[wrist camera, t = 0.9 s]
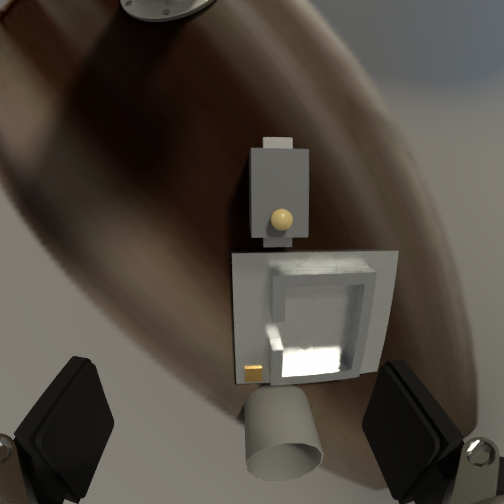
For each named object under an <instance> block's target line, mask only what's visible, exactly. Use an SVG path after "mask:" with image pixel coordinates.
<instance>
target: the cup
mask: <svg viewBox="0 0 504 504" xmlns="http://www.w3.org/2000/svg"><path fill="white" fill-rule="evenodd" d="M244 409H245V441H246V442H245V445H246V466H247V471H248V472H249V473H250V474H252V475H253V476H254V477H256V478H260V479H263V480H267V481H287V480H291V479H296V478H300V477H302V476H304V475H306V474H308V473H310V472H312V471H314V470H315V469H316V468H317V467H318V466H319V465H320V464H321V463H322V459H323V451H322V447H321V444H320V440H319V437H318V433H317V430H316V426H315V423H314V420H313V416H312V413H311V409H310V406H309V402H308V399H307V397H306V395H305V394H304V392H303V391H302V389H300V388H298V387H296V386H294V385H292V384H289V385H272V386H271V385H266V386H261V387H260V388H258V389H257V390H255V391H254V392H252V393H251V394H250V395H249V396H248V398H247V400H246V401H245V403H244Z"/></svg>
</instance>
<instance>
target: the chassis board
mask: <svg viewBox="0 0 504 504" xmlns="http://www.w3.org/2000/svg"><path fill="white" fill-rule="evenodd" d="M397 260H398V250H396V249H362V250H295V251H232V275H233V307H234V335H235V359H236V381H237V384H248V383H270V385H271V386H272V385H289V384H302V383H313V382H323V381H331V380H340V379H347V378H354V377H359V374H362V373H369V372H375V371H377V369H378V365H379V361H380V357H381V353H382V348H383V344H384V339H385V335H386V330H387V325H388V320H389V314H390V309H391V303H392V297H393V290H394V284H395V276H396V269H397Z"/></svg>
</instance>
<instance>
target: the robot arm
mask: <svg viewBox="0 0 504 504" xmlns="http://www.w3.org/2000/svg"><path fill="white" fill-rule="evenodd" d="M120 1H121V5H122V6H123V8H124V10H125V11H126V12H127V13H128V14H129V15H130V16H132V17H133V18H136V19H138V20H141V21H147V22H164V21H171V20H175V19H180V18H183V17H186V16H189V15H191V14H193V13H195V12H198V11H200V10H202V9H203V8H205V7H206V6H208V5H209V4H211V3H212V2H213V1H214V0H120ZM113 427H114V419H113V416H112V413H111V411H110V408H109V405H108V402H107V400H106V397H105V394H104V391H103V388H102V385H101V382H100V379H99V375H98V372H97V369H96V366H95V365H94V364H93V363H92V362H91V360H90V359H88V358H82V357H77V356H73V357H72V358H71V359H70V360H69V361H68V363H67V364H66V365H65V366H64V368H63V369H62V370H61V371H60V373H59V374H58V375H57V376H56V378H55V379H54V380H53V382H52V383H51V384H50V385H49V387H48V388H47V389H46V390H45V392H44V393H43V394H42V396H41V397H40V398H39V400H38V401H37V402H36V404H35V405H34V406H33V408H32V409H31V410H30V412H29V413H28V414H27V416H26V417H25V418H24V420H23V421H22V423H21V424H20V426H19V427H18V428H17V430H16V431H15V433H14V435H15V439H14V440H12V438H11V437H9V436H8V435H5V434H1V433H0V504H63V501H64V499H66V500H69V501H71V502H74V503H77V504H78V503H79V501H80V499H81V498H84V497H85V496H86V493H87V491H88V488H89V486H90V483H91V481H92V478H93V476H94V473H95V471H96V468H97V465H98V463H99V461H100V458H101V456H102V453H103V451H104V448H105V446H106V444H107V441H108V439H109V437H110V435H111V432H112V430H113ZM362 428H363V431H364V433H365V435H366V438H367V440H368V442H369V444H370V447H371V449H372V451H373V453H374V456H375V458H376V460H377V463H378V465H379V467H380V469H381V472H382V474H383V476H384V479H385V481H386V483H387V486H388V488H389V490H390V493H391V495H392V497H393V499H395V500H398V501H399V504H407V503H409V502H412V501H414V502H415V504H504V457H500V456H499V450H498V448H497V446H496V445H495V443H494V442H493V441H491V440H489V439H487V438H484V437H474V438H471V439H469V440H468V441H467V442H466V443H464V441H463V440H462V439H463V438H464V436H463V435H462V434H461V432H460V431H459V430H458V428H457V427H456V426H455V424H454V423H453V422H452V420H451V419H450V418H449V416H448V415H447V414H446V413H445V411H444V410H443V409H442V407H441V406H440V405H439V403H438V402H437V401H436V400H435V398H434V397H433V396H432V394H431V393H430V392H429V391H428V389H427V388H426V387H425V386H424V384H423V383H422V382H421V381H420V379H419V378H418V377H417V376H416V374H415V373H414V372H413V371H412V369H411V368H410V367H409V366H408V365H407V363H406V362H405V361H404V360H403V359H399V360H392V361H387V362H386V363H385V364H384V366H382V367H381V368H380V370H379V373H378V376H377V380H376V383H375V386H374V389H373V392H372V395H371V398H370V401H369V404H368V407H367V410H366V412H365V415H364V418H363V421H362Z"/></svg>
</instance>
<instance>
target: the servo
mask: <svg viewBox="0 0 504 504" xmlns="http://www.w3.org/2000/svg"><path fill="white" fill-rule="evenodd" d="M308 218H309V149H293V145H292V138H284V137H263V148H251V150H250V153H249V226H250V231H251V237H252V238H263V247H292V237H308Z"/></svg>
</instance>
